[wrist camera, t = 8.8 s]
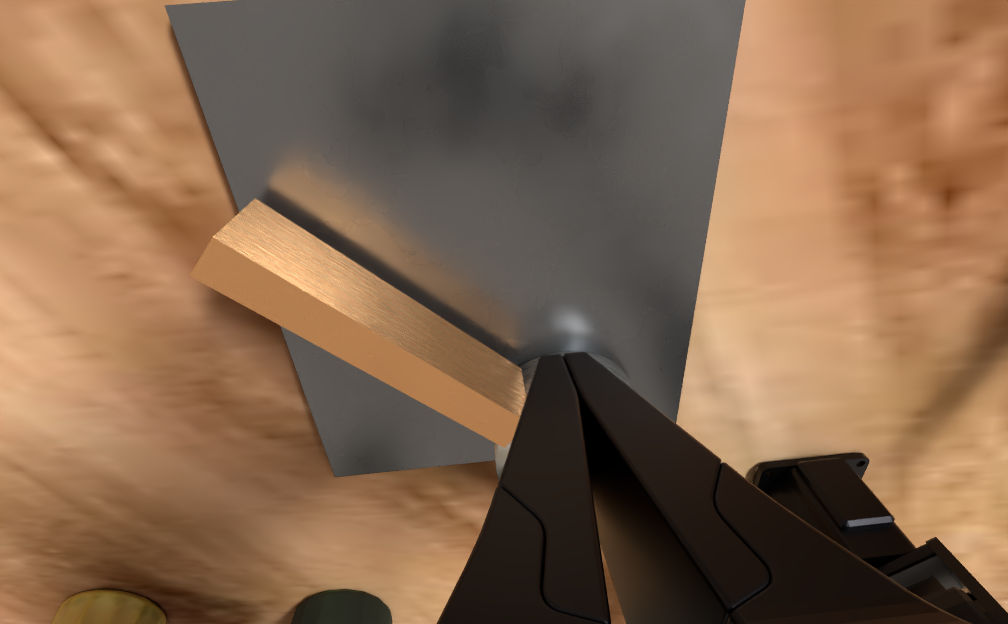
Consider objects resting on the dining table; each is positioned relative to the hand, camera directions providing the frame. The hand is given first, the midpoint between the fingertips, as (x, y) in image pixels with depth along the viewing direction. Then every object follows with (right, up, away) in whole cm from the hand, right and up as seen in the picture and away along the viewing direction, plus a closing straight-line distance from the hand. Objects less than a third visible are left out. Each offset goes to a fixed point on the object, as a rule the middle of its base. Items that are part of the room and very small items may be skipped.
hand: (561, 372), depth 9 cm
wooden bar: (-3, 0, +12) cm, 13 cm away
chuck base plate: (-2, +3, +12) cm, 12 cm away
